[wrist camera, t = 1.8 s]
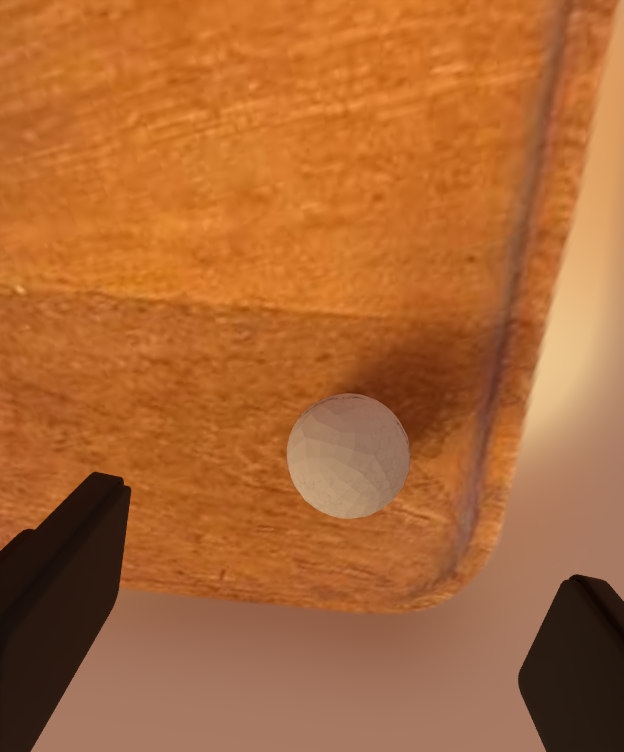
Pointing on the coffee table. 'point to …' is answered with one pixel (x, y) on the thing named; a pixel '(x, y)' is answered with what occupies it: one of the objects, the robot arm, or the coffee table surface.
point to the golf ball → (348, 455)
